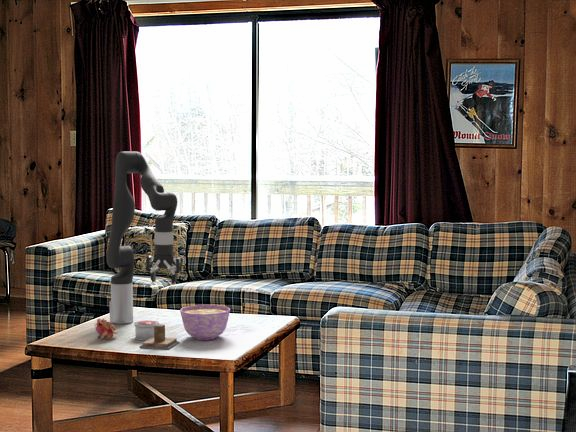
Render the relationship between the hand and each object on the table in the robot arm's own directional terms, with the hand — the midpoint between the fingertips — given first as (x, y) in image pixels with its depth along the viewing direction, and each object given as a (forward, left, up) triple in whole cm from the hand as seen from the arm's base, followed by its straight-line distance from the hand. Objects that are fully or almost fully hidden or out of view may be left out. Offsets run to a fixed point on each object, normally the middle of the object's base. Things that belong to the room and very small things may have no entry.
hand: (163, 282), depth 335 cm
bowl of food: (+17, +2, -22) cm, 28 cm away
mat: (+4, -14, -22) cm, 26 cm away
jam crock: (-6, -3, -22) cm, 23 cm away
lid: (+4, -14, -21) cm, 26 cm away
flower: (-21, -8, -22) cm, 32 cm away
